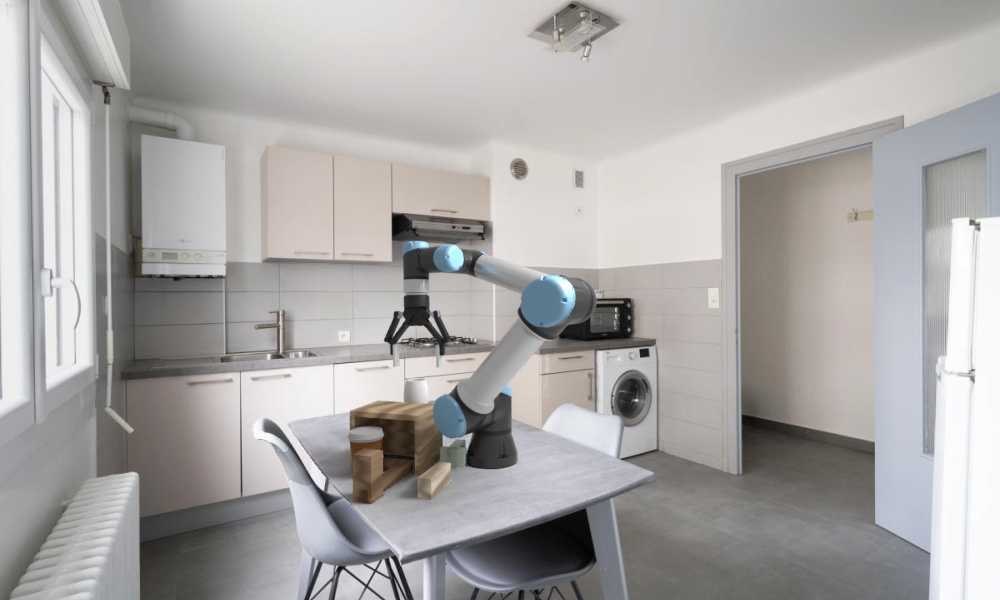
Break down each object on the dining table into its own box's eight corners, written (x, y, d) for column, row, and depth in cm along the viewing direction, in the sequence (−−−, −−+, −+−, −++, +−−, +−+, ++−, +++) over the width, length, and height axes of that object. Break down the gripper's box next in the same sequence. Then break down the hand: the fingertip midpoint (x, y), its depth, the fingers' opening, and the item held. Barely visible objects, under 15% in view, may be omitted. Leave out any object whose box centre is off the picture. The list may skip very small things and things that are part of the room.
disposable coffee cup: (374, 482, 126) (374, 436, 126) (341, 479, 127) (340, 434, 128) (390, 469, 135) (389, 426, 135) (358, 467, 137) (358, 425, 137)
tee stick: (472, 456, 146) (472, 440, 146) (463, 467, 136) (463, 450, 136) (449, 455, 147) (449, 439, 147) (440, 466, 138) (439, 448, 138)
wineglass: (417, 448, 155) (417, 382, 155) (397, 444, 160) (397, 380, 160) (434, 441, 162) (434, 378, 162) (415, 437, 167) (415, 376, 167)
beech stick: (451, 482, 126) (450, 462, 126) (431, 500, 114) (431, 479, 114) (438, 480, 127) (438, 461, 127) (417, 498, 115) (417, 477, 115)
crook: (417, 471, 133) (417, 431, 133) (371, 504, 112) (371, 456, 112) (367, 466, 138) (367, 427, 138) (314, 495, 117) (314, 450, 117)
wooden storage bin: (442, 457, 145) (442, 404, 145) (419, 474, 131) (419, 415, 131) (378, 451, 152) (378, 400, 152) (350, 467, 137) (349, 410, 137)
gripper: (460, 293, 143) (461, 365, 143) (383, 295, 149) (384, 364, 148) (452, 293, 136) (453, 368, 135) (371, 295, 141) (372, 367, 141)
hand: (417, 366), depth 142 cm, fingers open, 13 cm apart
